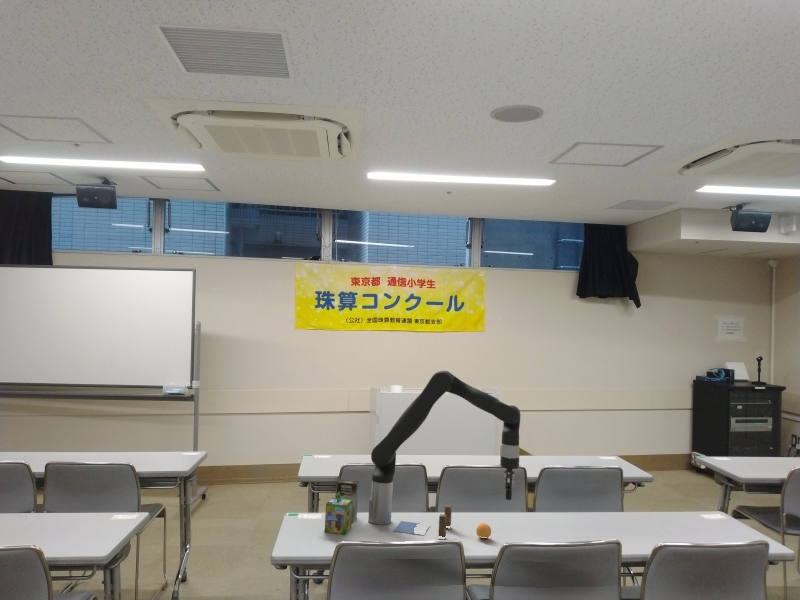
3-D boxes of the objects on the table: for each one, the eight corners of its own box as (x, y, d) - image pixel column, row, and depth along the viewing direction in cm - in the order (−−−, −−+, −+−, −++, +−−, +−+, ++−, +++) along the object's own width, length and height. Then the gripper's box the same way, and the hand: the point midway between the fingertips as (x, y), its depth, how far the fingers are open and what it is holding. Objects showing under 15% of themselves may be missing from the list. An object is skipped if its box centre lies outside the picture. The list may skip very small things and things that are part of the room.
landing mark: (393, 531, 211) (393, 530, 211) (401, 521, 224) (401, 520, 224) (423, 535, 208) (424, 535, 208) (430, 525, 220) (430, 525, 220)
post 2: (443, 528, 218) (444, 506, 218) (444, 526, 220) (445, 505, 221) (449, 529, 217) (450, 507, 218) (450, 527, 219) (451, 505, 220)
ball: (475, 540, 206) (475, 524, 207) (476, 535, 212) (477, 520, 212) (490, 542, 204) (490, 527, 205) (491, 537, 210) (492, 522, 211)
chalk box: (345, 535, 204) (347, 497, 206) (323, 532, 206) (326, 495, 207) (352, 527, 213) (354, 491, 215) (331, 525, 215) (333, 489, 216)
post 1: (438, 539, 205) (439, 516, 206) (439, 537, 208) (440, 514, 208) (444, 540, 204) (445, 517, 205) (445, 537, 207) (446, 515, 208)
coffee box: (333, 520, 221) (336, 482, 222) (337, 515, 227) (339, 478, 229) (354, 522, 220) (356, 483, 221) (357, 517, 226) (359, 480, 228)
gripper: (501, 451, 216) (500, 493, 215) (499, 457, 203) (498, 502, 202) (519, 453, 214) (518, 495, 213) (518, 459, 201) (517, 504, 200)
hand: (508, 498), depth 207 cm, fingers closed
